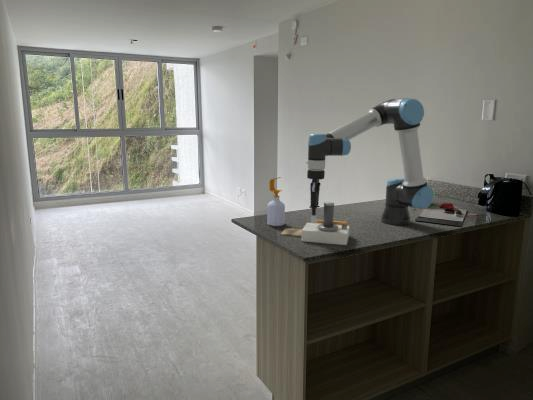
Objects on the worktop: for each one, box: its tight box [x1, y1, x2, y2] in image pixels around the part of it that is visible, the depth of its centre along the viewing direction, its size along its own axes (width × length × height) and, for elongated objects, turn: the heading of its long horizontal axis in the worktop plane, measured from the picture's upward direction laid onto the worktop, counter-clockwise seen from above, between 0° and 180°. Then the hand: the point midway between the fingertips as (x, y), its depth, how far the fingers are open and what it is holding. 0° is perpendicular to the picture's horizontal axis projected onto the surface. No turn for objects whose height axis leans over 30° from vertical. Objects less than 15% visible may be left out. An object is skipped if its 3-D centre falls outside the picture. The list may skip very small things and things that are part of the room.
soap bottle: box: [266, 176, 286, 227], centre depth 209 cm, size 9×9×25 cm
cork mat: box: [280, 227, 303, 237], centre depth 196 cm, size 10×10×1 cm
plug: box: [318, 201, 338, 231], centre depth 184 cm, size 9×9×17 cm
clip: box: [313, 219, 348, 226], centre depth 187 cm, size 15×3×1 cm, turn 75°
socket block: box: [300, 222, 350, 246], centre depth 187 cm, size 20×14×6 cm
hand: (313, 221), depth 184 cm, fingers closed
